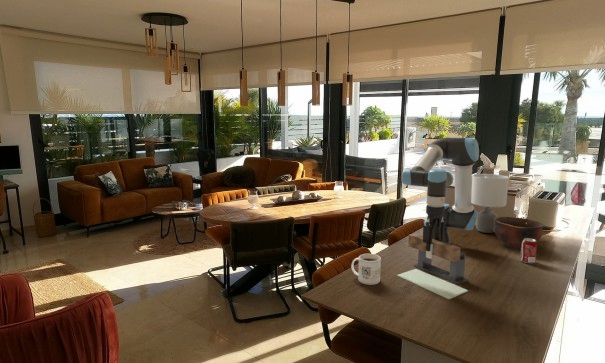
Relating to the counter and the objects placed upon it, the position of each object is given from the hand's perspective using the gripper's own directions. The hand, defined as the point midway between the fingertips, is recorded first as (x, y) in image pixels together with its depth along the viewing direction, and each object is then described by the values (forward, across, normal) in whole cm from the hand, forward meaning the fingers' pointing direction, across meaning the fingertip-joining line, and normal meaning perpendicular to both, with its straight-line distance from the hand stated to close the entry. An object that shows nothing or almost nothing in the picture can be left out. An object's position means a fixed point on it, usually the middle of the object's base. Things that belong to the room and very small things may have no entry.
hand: (432, 256), depth 169 cm
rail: (-2, 0, 0) cm, 2 cm away
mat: (+13, 0, 0) cm, 13 cm away
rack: (+13, +13, +5) cm, 19 cm away
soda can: (+12, +63, -11) cm, 65 cm away
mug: (+13, -21, +19) cm, 31 cm away
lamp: (+12, +95, +31) cm, 101 cm away
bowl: (+12, +82, +5) cm, 83 cm away
